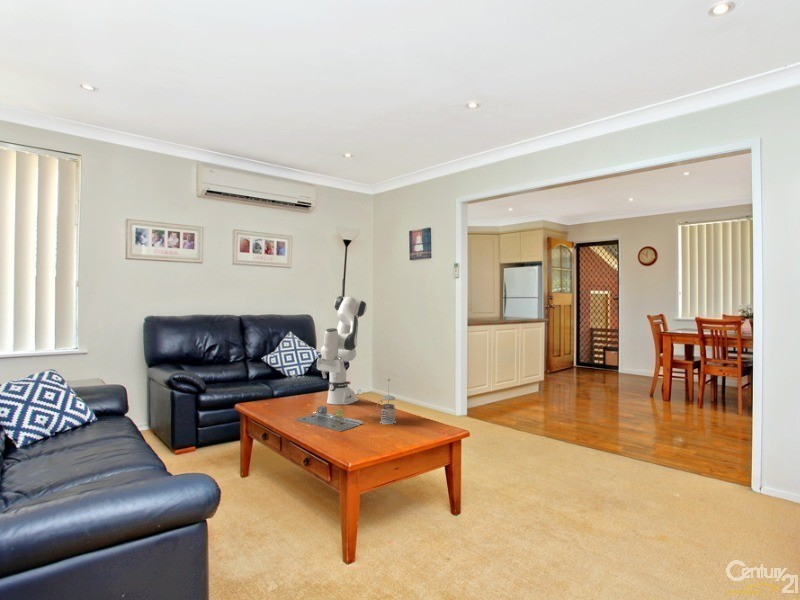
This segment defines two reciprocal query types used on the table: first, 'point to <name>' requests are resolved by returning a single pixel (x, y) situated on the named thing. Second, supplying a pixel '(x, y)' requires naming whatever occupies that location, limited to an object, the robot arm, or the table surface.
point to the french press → (387, 419)
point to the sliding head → (338, 413)
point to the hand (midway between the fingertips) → (330, 379)
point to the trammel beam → (323, 412)
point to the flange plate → (327, 422)
